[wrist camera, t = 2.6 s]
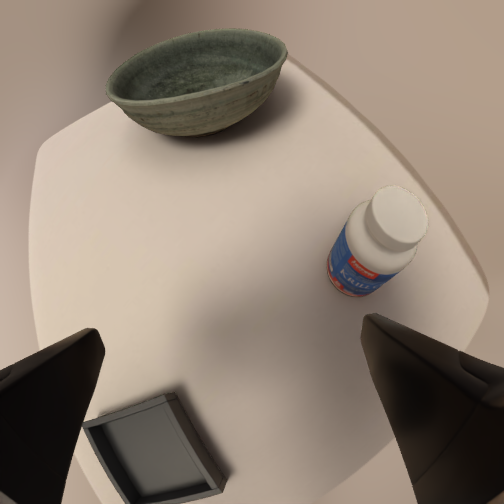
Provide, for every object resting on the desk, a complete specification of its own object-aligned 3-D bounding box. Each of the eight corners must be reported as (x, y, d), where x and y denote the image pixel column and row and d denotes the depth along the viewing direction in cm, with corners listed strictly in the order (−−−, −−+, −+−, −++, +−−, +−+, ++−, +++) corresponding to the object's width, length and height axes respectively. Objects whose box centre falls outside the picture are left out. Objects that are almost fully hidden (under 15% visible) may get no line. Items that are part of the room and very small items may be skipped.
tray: (227, 480, 16) (222, 493, 14) (141, 500, 15) (130, 511, 12) (175, 391, 20) (163, 394, 17) (96, 419, 18) (80, 423, 16)
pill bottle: (322, 293, 22) (357, 244, 13) (328, 237, 24) (356, 167, 15) (381, 301, 22) (441, 260, 13) (382, 246, 24) (430, 186, 15)
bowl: (145, 201, 27) (105, 135, 18) (126, 108, 35) (105, 59, 26) (316, 137, 30) (327, 66, 21) (246, 67, 38) (242, 16, 29)
